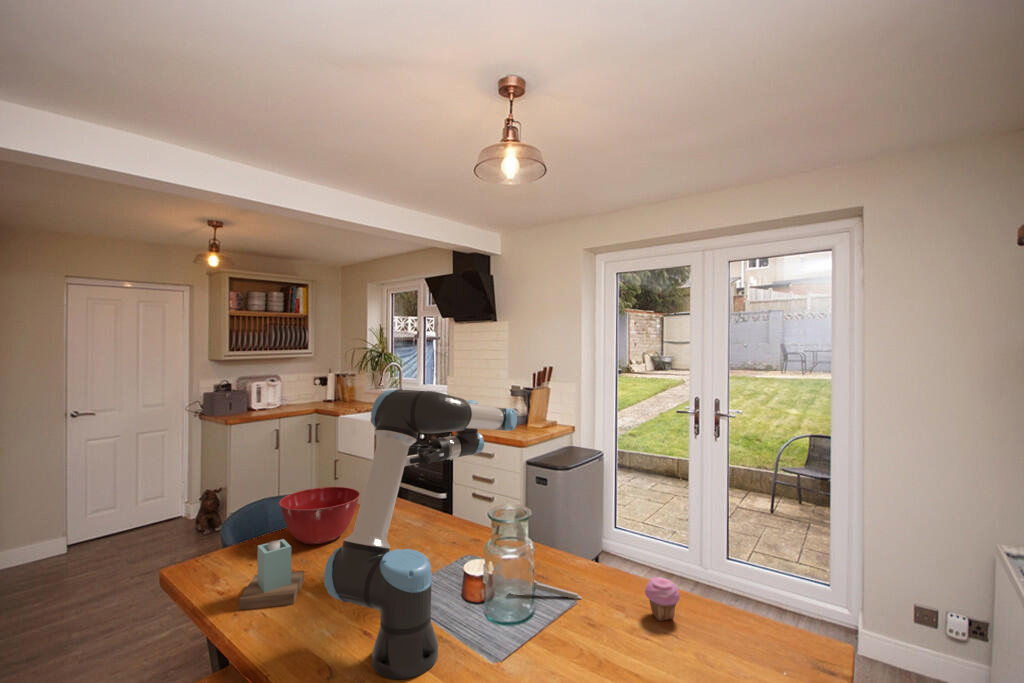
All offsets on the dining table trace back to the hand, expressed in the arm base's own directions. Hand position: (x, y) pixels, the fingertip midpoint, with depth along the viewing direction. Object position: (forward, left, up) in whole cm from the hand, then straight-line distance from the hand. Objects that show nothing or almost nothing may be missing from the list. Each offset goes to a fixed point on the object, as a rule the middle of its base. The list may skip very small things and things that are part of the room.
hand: (388, 458), depth 148 cm
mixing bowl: (+40, +26, -38) cm, 61 cm away
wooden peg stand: (-1, +32, -38) cm, 50 cm away
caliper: (-19, -46, -38) cm, 63 cm away
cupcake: (-35, -74, -38) cm, 90 cm away
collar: (-1, +32, -35) cm, 48 cm away
